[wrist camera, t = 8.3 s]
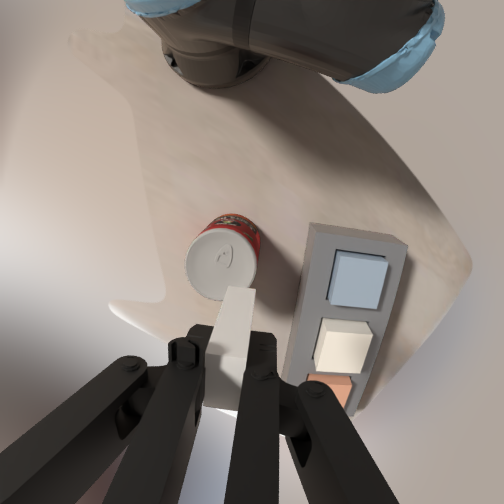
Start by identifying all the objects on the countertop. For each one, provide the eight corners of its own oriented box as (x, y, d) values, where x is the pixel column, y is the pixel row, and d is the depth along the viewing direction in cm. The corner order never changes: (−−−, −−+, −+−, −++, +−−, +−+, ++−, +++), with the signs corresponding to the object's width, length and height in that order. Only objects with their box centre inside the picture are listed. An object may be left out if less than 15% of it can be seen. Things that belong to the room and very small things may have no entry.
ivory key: (321, 312, 41) (326, 331, 37) (363, 316, 41) (372, 334, 36) (312, 350, 43) (316, 371, 38) (352, 353, 43) (360, 373, 38)
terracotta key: (307, 362, 45) (310, 383, 40) (345, 365, 45) (352, 385, 40) (299, 392, 47) (301, 413, 42) (335, 394, 47) (340, 415, 42)
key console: (309, 222, 42) (315, 231, 37) (391, 234, 42) (408, 245, 36) (278, 388, 50) (278, 412, 44) (346, 393, 50) (353, 416, 44)
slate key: (332, 244, 40) (340, 256, 35) (375, 251, 40) (388, 262, 35) (324, 288, 42) (330, 304, 37) (366, 293, 42) (376, 309, 37)
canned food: (263, 215, 43) (260, 233, 32) (257, 272, 45) (252, 306, 34) (206, 209, 43) (185, 225, 32) (202, 266, 45) (182, 297, 34)
